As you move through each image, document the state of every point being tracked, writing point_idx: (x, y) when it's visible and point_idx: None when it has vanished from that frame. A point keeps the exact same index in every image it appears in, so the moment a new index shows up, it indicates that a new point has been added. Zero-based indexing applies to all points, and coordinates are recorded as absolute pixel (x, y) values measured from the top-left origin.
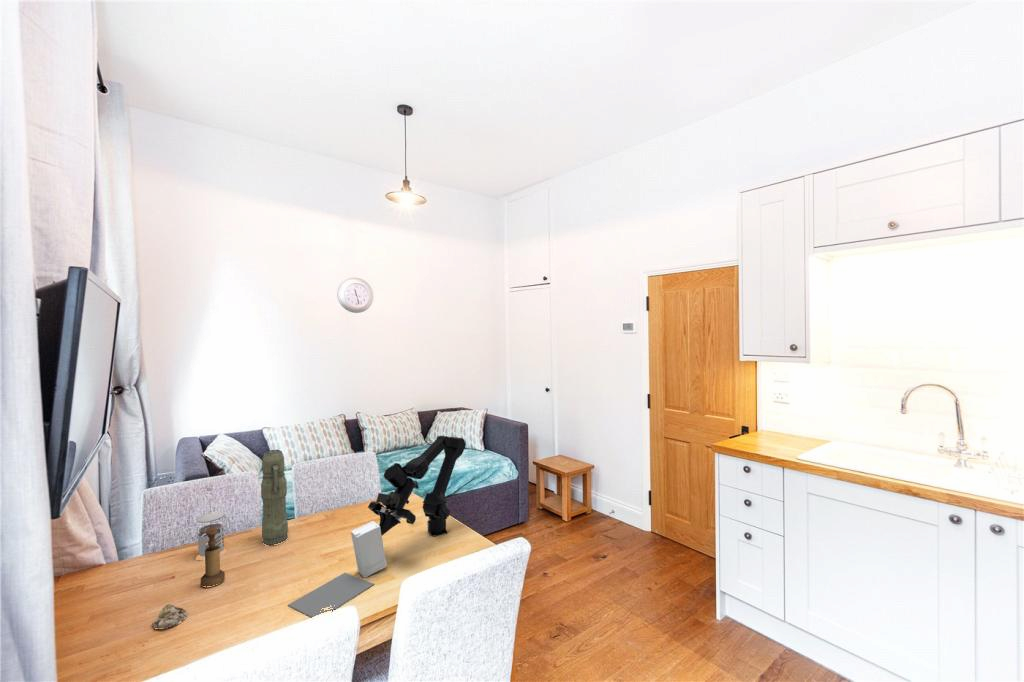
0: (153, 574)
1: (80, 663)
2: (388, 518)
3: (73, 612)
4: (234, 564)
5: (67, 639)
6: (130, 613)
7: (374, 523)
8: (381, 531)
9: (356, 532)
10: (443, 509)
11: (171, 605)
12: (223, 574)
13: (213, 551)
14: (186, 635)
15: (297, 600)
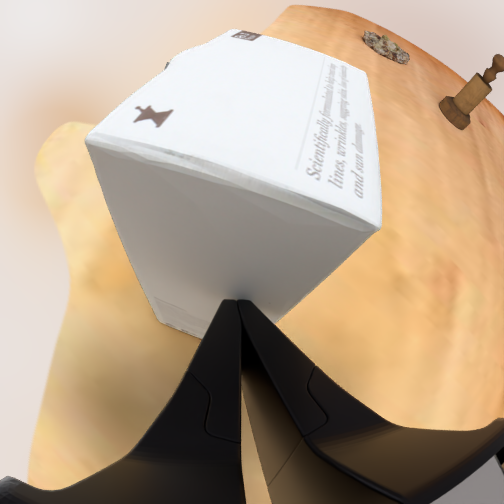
0: (492, 126)
1: (355, 16)
2: (135, 472)
3: (449, 69)
4: (488, 165)
5: (405, 39)
6: (423, 63)
7: (263, 158)
8: (211, 323)
9: (295, 48)
10: None
11: (406, 55)
12: (455, 112)
13: (476, 75)
14: (330, 30)
15: None
